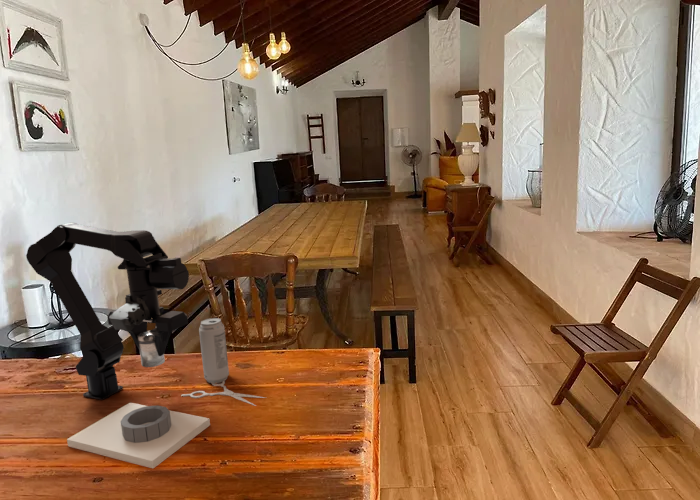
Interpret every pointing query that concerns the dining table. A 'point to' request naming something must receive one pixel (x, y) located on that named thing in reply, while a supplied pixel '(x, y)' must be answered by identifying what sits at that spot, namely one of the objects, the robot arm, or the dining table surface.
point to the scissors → (222, 393)
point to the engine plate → (137, 451)
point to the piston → (149, 350)
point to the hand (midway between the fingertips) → (152, 354)
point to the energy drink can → (213, 350)
